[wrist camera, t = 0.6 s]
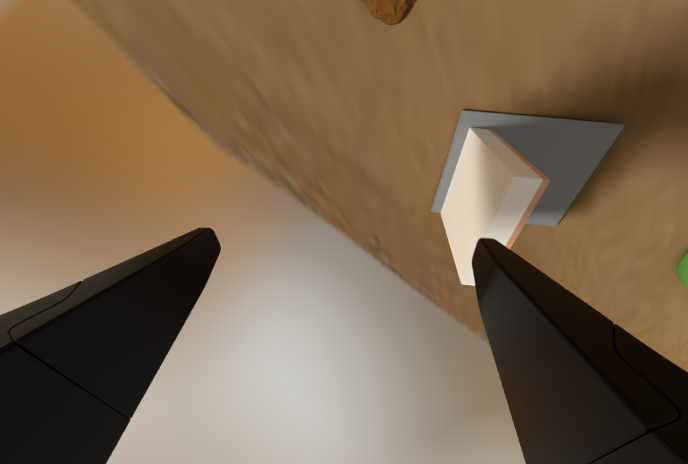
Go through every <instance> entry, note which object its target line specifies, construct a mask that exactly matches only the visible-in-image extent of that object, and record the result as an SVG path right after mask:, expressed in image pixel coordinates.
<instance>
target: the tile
mask: <svg viewBox="0 0 688 464" xmlns="http://www.w3.org/2000/svg"><path fill="white" fill-rule="evenodd" d="M549 182H550V180H549V179H548V178H547V177H546V176H545V175H544V174H543V173H541V172H540V171H539V170H538V169H537V168H536V167H535V166H533V165H532V164H531V163H530V162H529V161H528V160H526V159H525V158H524V157H523V156H522V155H521V154H520V153H518V152H517V151H516V150H515V149H514V148H513V147H512V146H510V145H509V144H508V143H507V142H506V141H505V140H504V139H502V138H501V137H500V136H499V135H498V134H497V133H496V132H494V131H493V130H491V129H481V128H470V127H469V130H468V133H467V136H466V139H465V142H464V145H463V148H462V151H461V154H460V157H459V160H458V163H457V166H456V169H455V172H454V175H453V178H452V181H451V184H450V187H449V190H448V193H447V196H446V199H445V202H444V205H443V207H442V210H441V216H442V220H443V223H444V226H445V230H446V233H447V237H448V240H449V244H450V247H451V250H452V254H453V257H454V261H455V264H456V267H457V271H458V274H459V278H460V281H461V284H465V285H472V286H475V281H474V275H473V269H472V257H473V253H474V250H475V247H476V244H477V241H478V239H480V238H493V239H496V240H497V241H499V242H500V243H501V244H503V245H504V246H506V247H507V248H508V249H510V248H511V246H512V245H513V243H514V241H515V240H516V238H517V236H518V235H519V233H520V231H521V229H522V228H523V226H524V224H525V223H526V221H527V219H528V218H529V216H530V214H531V213H532V211H533V209H534V207H535V206H536V204H537V202H538V201H539V199H540V197H541V196H542V194H543V192H544V191H545V189H546V187H547V186H548V184H549Z"/></svg>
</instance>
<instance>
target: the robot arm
mask: <svg viewBox="0 0 688 464" xmlns="http://www.w3.org/2000/svg"><path fill="white" fill-rule="evenodd" d="M220 250H221V246H220V244H219V241H218V239H217V237H216V235H215V232H214V231H213V230H212V229H211V228H198V229H195V230H193V231H191V232H189V233H186V234H184V235H182V236H180V237H177V238H175V239H173V240H171V241H169V242H166V243H164V244H162V245H160V246H158V247H155V248H153V249H151V250H149V251H146V252H144V253H142V254H140V255H137V256H135V257H133V258H131V259H129V260H126V261H124V262H122V263H120V264H117V265H115V266H113V267H111V268H109V269H106V270H104V271H102V272H99V273H97V274H95V275H93V276H91V277H88V278H86V279H84V280H83V281H79V282H77V283H75V284H73V285H71V286H68V287H66V288H64V289H61V290H59V291H57V292H55V293H52V294H50V295H48V296H45V297H43V298H41V299H38V300H36V301H34V302H31V303H29V304H26V305H24V306H22V307H19V308H17V309H14V310H12V311H9V312H7V313H5V314H2V315H0V464H106V463H107V461H108V459H109V457H110V456H111V454H112V452H113V450H114V448H115V447H116V445H117V443H118V441H119V440H120V438H121V436H122V434H123V432H124V431H125V429H126V427H127V425H128V423H129V422H130V419H131V418H132V416H133V414H134V412H135V411H136V409H137V407H138V405H139V404H140V402H141V400H142V398H143V396H144V394H145V393H146V391H147V389H148V387H149V386H150V384H151V382H152V380H153V379H154V377H155V375H156V373H157V371H158V370H159V368H160V366H161V364H162V363H163V361H164V359H165V357H166V356H167V354H168V352H169V350H170V348H171V347H172V345H173V343H174V341H175V340H176V338H177V336H178V334H179V332H180V331H181V329H182V327H183V325H184V324H185V322H186V320H187V318H188V316H189V315H190V313H191V311H192V309H193V307H194V306H195V304H196V302H197V300H198V299H199V297H200V295H201V293H202V291H203V289H204V288H205V285H206V283H207V281H208V279H209V277H210V274H211V272H212V270H213V267H214V265H215V263H216V260H217V258H218V256H219V254H220ZM472 269H473V275H474V281H475V287H476V293H477V299H478V305H479V309H480V313H481V317H482V320H483V323H484V327H485V330H486V333H487V337H488V340H489V343H490V347H491V350H492V353H493V356H494V360H495V363H496V366H497V370H498V373H499V376H500V379H501V383H502V386H503V390H504V393H505V396H506V399H507V403H508V406H509V409H510V413H511V416H512V419H513V423H514V426H515V429H516V432H517V436H518V439H519V442H520V446H521V449H522V452H523V456H524V459H525V462H526V464H688V372H686V371H685V370H683V369H682V368H680V367H679V366H677V365H676V364H674V363H672V362H671V361H669V360H668V359H666V358H665V357H663V356H662V355H660V354H659V353H657V352H656V351H654V350H653V349H652V348H650V347H649V346H647V345H646V344H644V343H643V342H641V341H640V340H638V339H637V338H635V337H634V336H633V335H631V334H630V333H628V332H627V331H625V330H624V329H623V328H621V327H620V326H618V325H616V324H613V322H612V321H611V320H610V319H608V318H607V317H605V316H604V315H602V314H601V313H600V312H598V311H597V310H595V309H594V308H593V307H591V306H590V305H588V304H587V303H585V302H584V301H583V300H581V299H580V298H578V297H577V296H575V295H574V294H573V293H571V292H570V291H568V290H567V289H565V288H564V287H563V286H561V285H560V284H558V283H557V282H555V281H554V280H553V279H551V278H550V277H548V276H547V275H546V274H544V273H543V272H541V271H540V270H538V269H537V268H536V267H534V266H533V265H531V264H530V263H528V262H527V261H526V260H524V259H523V258H521V257H520V256H518V255H517V254H516V253H514V252H513V251H511V250H510V249H508V248H507V247H506V246H504V245H503V244H501V243H500V242H499V241H497V240H496V239H493V238H480V239H478V241H477V244H476V247H475V250H474V253H473V257H472Z"/></svg>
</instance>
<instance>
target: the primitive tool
mask: <svg viewBox="0 0 688 464" xmlns="http://www.w3.org/2000/svg"><path fill="white" fill-rule="evenodd" d="M361 1H363V2H364V3H365V5H366V6H367V8H368V10H369V11H370V13H371V14H372V16H373V17H374V18H375V19H381V21H382V22H383V23H385V24H387V25H394V24H397V23H398V22H399V21H401V20H402V18H403V17H404V16H405V14H406V12H407V10H408V9H409V8H410V7H411V6H412V5H413V4H414V2H415V1H416V0H361Z"/></svg>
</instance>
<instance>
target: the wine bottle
mask: <svg viewBox="0 0 688 464" xmlns="http://www.w3.org/2000/svg"><path fill="white" fill-rule="evenodd" d="M677 271H678V275H679V279H680V281H681V282H682V284H683V285H684V286H685V287H686V288H687V289H688V251H687V252H686V253H685V255H684V256H683V257H682V259H681V260H680V263H679V266H678V269H677Z"/></svg>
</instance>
